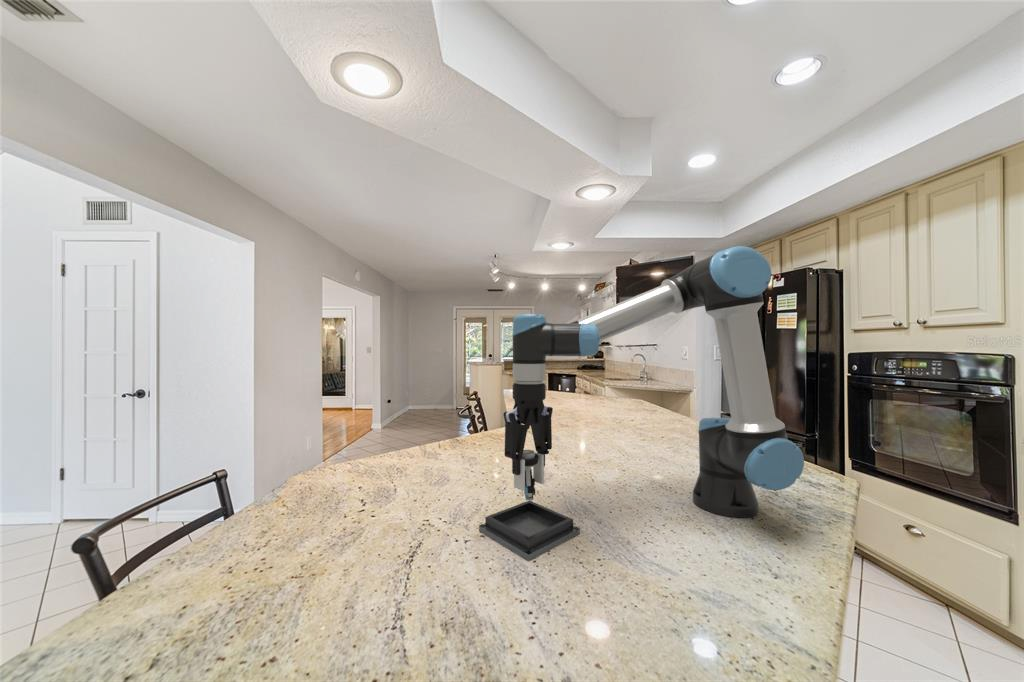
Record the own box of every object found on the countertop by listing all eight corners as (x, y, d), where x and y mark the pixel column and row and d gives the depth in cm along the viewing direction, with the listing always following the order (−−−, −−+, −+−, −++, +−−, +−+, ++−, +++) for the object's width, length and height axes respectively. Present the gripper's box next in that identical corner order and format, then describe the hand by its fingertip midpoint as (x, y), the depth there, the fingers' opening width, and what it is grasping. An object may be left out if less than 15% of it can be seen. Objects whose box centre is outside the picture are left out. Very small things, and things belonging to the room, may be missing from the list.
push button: (542, 502, 80) (540, 456, 80) (518, 504, 80) (515, 458, 80) (539, 490, 87) (537, 448, 87) (516, 492, 87) (514, 449, 87)
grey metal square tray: (579, 533, 83) (579, 519, 83) (528, 561, 72) (528, 544, 72) (529, 510, 95) (529, 498, 95) (479, 531, 84) (479, 516, 84)
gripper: (544, 379, 93) (544, 472, 92) (487, 383, 81) (486, 490, 80) (567, 381, 87) (568, 480, 87) (509, 386, 75) (509, 501, 75)
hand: (529, 485), depth 84 cm, fingers closed on push button, 5 cm apart
